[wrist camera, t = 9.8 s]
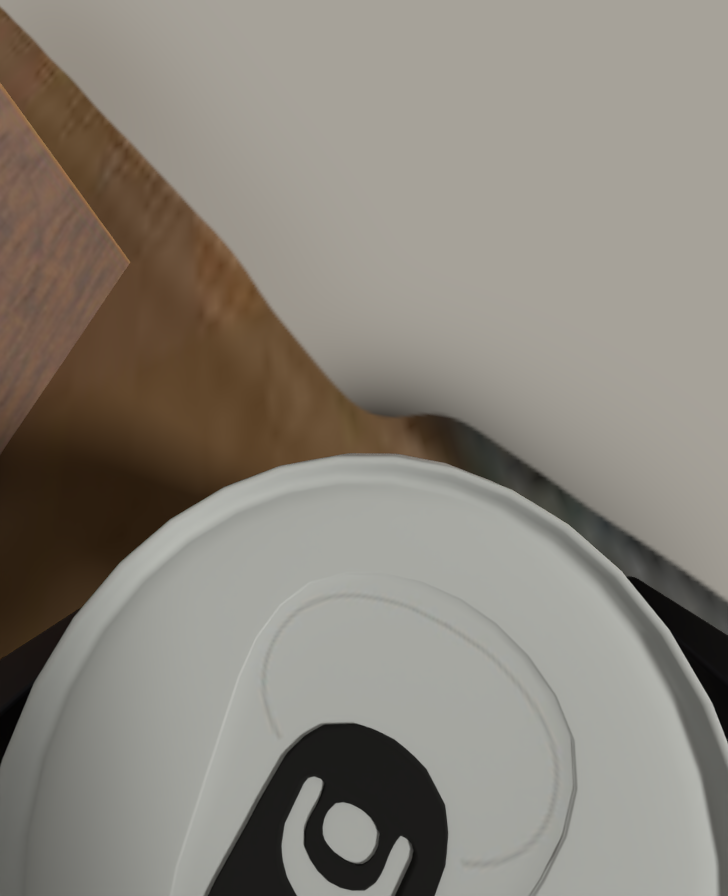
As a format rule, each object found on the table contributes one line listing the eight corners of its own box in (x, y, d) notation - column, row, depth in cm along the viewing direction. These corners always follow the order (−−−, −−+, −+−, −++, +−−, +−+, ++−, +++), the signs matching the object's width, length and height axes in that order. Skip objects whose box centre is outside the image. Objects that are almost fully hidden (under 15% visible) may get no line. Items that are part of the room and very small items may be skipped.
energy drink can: (486, 613, 17) (966, 621, 3) (413, 776, 16) (727, 2442, 1) (348, 535, 18) (237, 283, 4) (267, 679, 17) (-361, 1052, 3)
